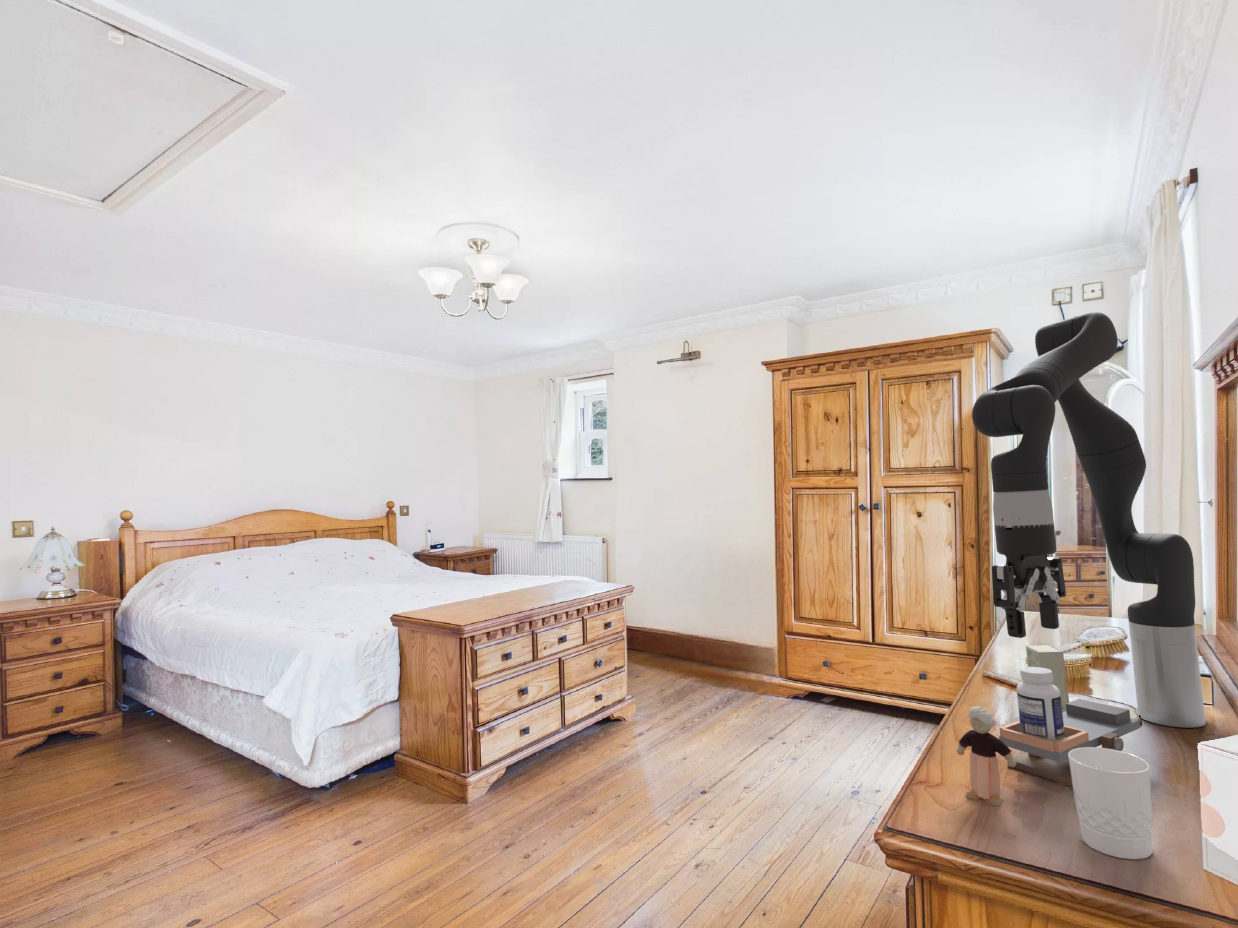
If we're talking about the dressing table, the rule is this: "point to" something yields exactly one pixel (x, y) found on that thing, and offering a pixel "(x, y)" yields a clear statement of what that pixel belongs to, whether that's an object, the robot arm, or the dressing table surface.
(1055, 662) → the skincare box
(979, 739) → the grandmother figurine
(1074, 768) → the white cup
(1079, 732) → the balance beam
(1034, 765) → the balance stand
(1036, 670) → the pill bottle
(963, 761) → the dressing table surface
